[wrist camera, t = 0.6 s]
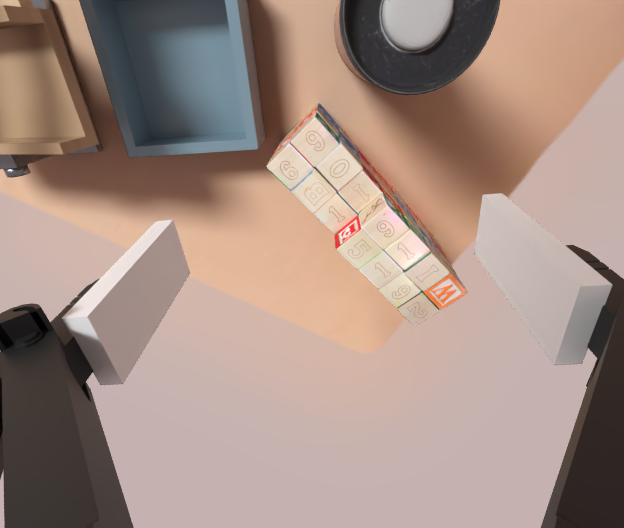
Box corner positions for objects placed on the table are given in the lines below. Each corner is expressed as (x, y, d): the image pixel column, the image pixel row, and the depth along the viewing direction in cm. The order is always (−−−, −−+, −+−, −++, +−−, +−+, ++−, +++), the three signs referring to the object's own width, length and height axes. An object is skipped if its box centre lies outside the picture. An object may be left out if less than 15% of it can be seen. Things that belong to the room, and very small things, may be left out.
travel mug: (374, 94, 37) (416, 129, 20) (316, 39, 35) (306, 23, 17) (431, 24, 34) (540, -7, 17) (371, -41, 32) (426, -157, 14)
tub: (150, 146, 40) (129, 157, 36) (106, -9, 33) (73, -19, 29) (265, 138, 40) (258, 149, 35) (244, -23, 33) (232, -35, 28)
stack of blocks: (276, 143, 40) (258, 175, 29) (318, 101, 38) (315, 119, 27) (394, 267, 47) (414, 329, 37) (435, 238, 45) (469, 295, 34)
